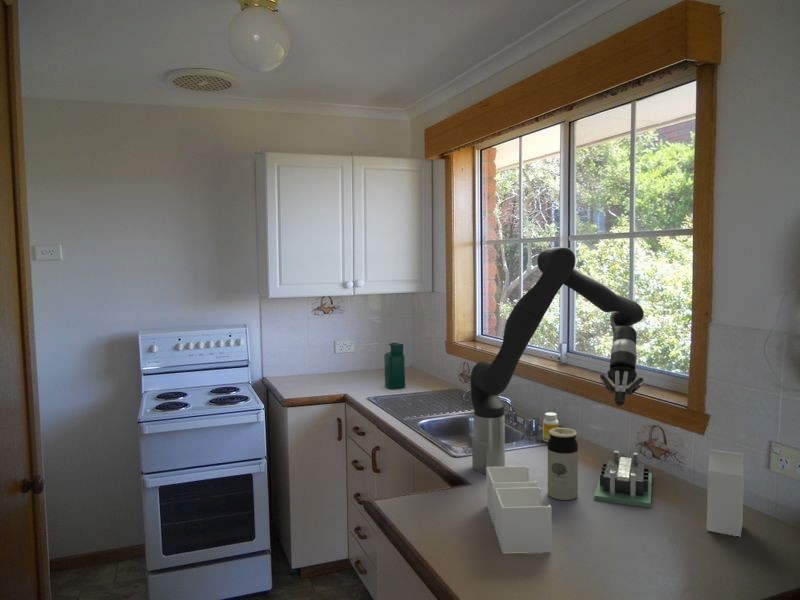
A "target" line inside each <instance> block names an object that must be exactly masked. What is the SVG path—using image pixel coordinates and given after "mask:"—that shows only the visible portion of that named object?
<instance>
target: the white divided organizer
mask: <svg viewBox="0 0 800 600" xmlns="http://www.w3.org/2000/svg"><path fill="white" fill-rule="evenodd" d="M529 468H530V467H529V466H528V465H518V466H516V465H513V466H506V465H505V467H486V474H485V477H486V508H487V507H488V508H487V511H488V510H489V511H488V514H489V513H490V514H489V517H490V516H491V517H490V520H491V519H492V520H491V523H492V522H493V523H492V525H493V524H495V525H494V532H495V531H496V532H495V535H496V534H497V535H496V538H497V537H498V538H497V541H498V540H499V541H498V543H500V544H499V547H500V546H501V547H500V550H501V549H502V550H501V552H509V553H510V552H551V553H552V506H551V504H548V505H543V506H542V488H541V487H539V486H538V481H537V480H536V479H535V480H534V481H530V480H529V479H530V477H529V473H530V470H529Z"/></svg>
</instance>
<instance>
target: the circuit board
mask: <svg viewBox="0 0 800 600" xmlns="http://www.w3.org/2000/svg"><path fill="white" fill-rule="evenodd" d="M601 470H602V468H601ZM601 470H600V471H601ZM600 474H601V472H600V473H599V478H598V482H597V485H596V489H595V492H594V495H593V496H594V501H600V502H606V503H612V504H613V503H614V504H619V505H620V504H621V505H628V506H629V505H630V506H637V507H644V508H649V507H652V505H651V504H652V503H651V502H652V485H651V484H652V483H653V482H652V481H653V478H652V477H653V473H652V472H649V480H648V492H643V496H637V495H635V498H630V494H622V493H615V496H614V495H610V492H607V491H604V486H600Z"/></svg>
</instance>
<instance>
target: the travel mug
mask: <svg viewBox="0 0 800 600" xmlns="http://www.w3.org/2000/svg"><path fill="white" fill-rule="evenodd" d="M549 434H550V439H549V441H548V442H547V495H549V497H550V498H553V499H555V500H559V501H571V500H574V499H576V498H578V495H579V490H578V487H579V486H578V483H579V479H578V476H579V474H578V473H579V472H578V471H579V469H578V468H579V465H578V464H579V455H578V454H579V443H578V442H577V440H576V438H577V437H576V436H577V434H578V432H577V431H576V430H575V429H572V428H568V427H559V428H553V429H550V430H549Z"/></svg>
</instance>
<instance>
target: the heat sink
mask: <svg viewBox="0 0 800 600" xmlns="http://www.w3.org/2000/svg"><path fill="white" fill-rule="evenodd" d="M613 454H614V456H613V458H614V459H613V460H612V459H607V461H606V462H607V463H605V462H602V466H601V469H602V470H600V473H601V474H600V473H599V476H600V486H604V491H607V492H610V495H614V496H615V493H622V494H630V498H635V495H637V496H643V492H648V480H649V473H650V472H649V467H645V463H639V453H638V452H633V459H632V460H633V461H632V462H631V469H630V476H629V481H621V480H617V474H618V468H619V463H620V451H619V450H614V453H613Z"/></svg>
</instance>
